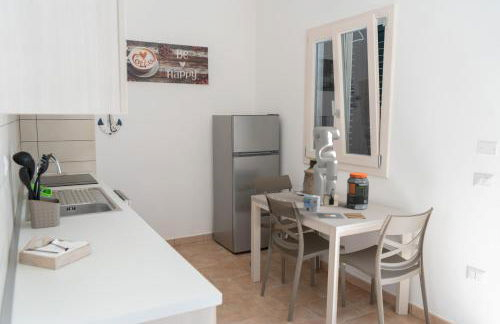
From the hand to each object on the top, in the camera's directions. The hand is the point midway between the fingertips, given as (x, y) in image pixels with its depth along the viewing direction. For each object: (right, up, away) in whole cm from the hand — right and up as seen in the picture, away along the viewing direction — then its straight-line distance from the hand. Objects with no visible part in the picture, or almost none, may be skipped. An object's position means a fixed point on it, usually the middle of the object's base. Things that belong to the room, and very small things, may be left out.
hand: (330, 203), depth 266 cm
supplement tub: (+26, -6, +27) cm, 37 cm away
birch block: (0, -1, 0) cm, 1 cm away
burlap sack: (0, 0, +74) cm, 74 cm away
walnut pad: (+17, -9, +1) cm, 19 cm away
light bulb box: (-10, -7, +16) cm, 20 cm away
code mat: (0, -9, 0) cm, 9 cm away
